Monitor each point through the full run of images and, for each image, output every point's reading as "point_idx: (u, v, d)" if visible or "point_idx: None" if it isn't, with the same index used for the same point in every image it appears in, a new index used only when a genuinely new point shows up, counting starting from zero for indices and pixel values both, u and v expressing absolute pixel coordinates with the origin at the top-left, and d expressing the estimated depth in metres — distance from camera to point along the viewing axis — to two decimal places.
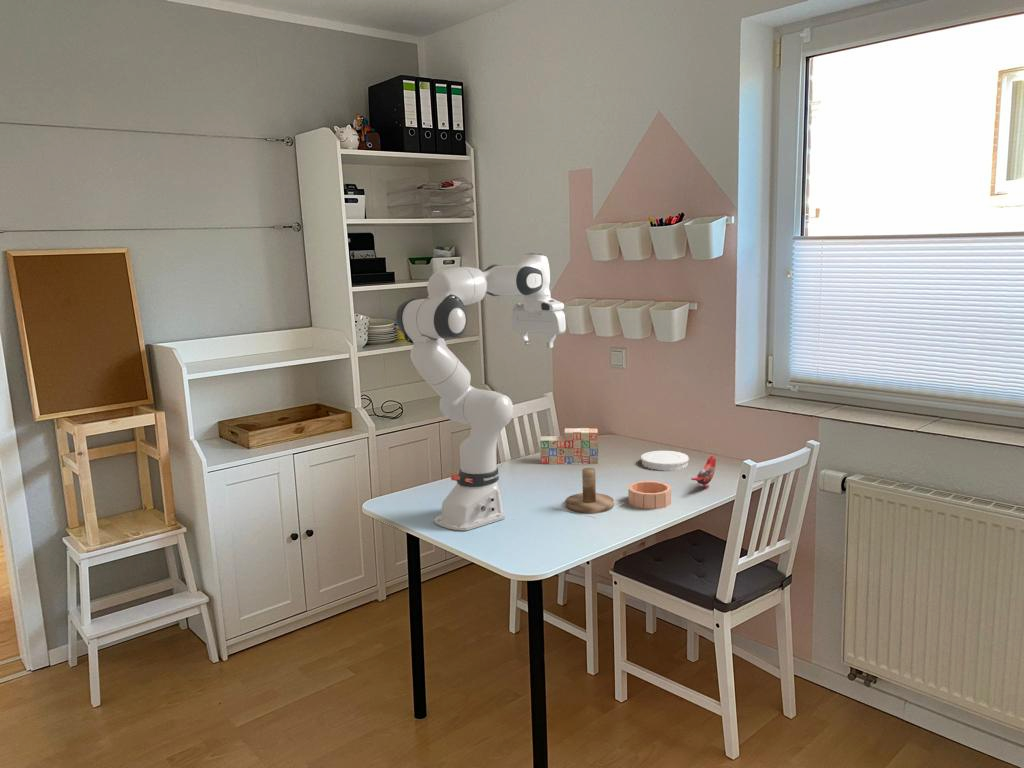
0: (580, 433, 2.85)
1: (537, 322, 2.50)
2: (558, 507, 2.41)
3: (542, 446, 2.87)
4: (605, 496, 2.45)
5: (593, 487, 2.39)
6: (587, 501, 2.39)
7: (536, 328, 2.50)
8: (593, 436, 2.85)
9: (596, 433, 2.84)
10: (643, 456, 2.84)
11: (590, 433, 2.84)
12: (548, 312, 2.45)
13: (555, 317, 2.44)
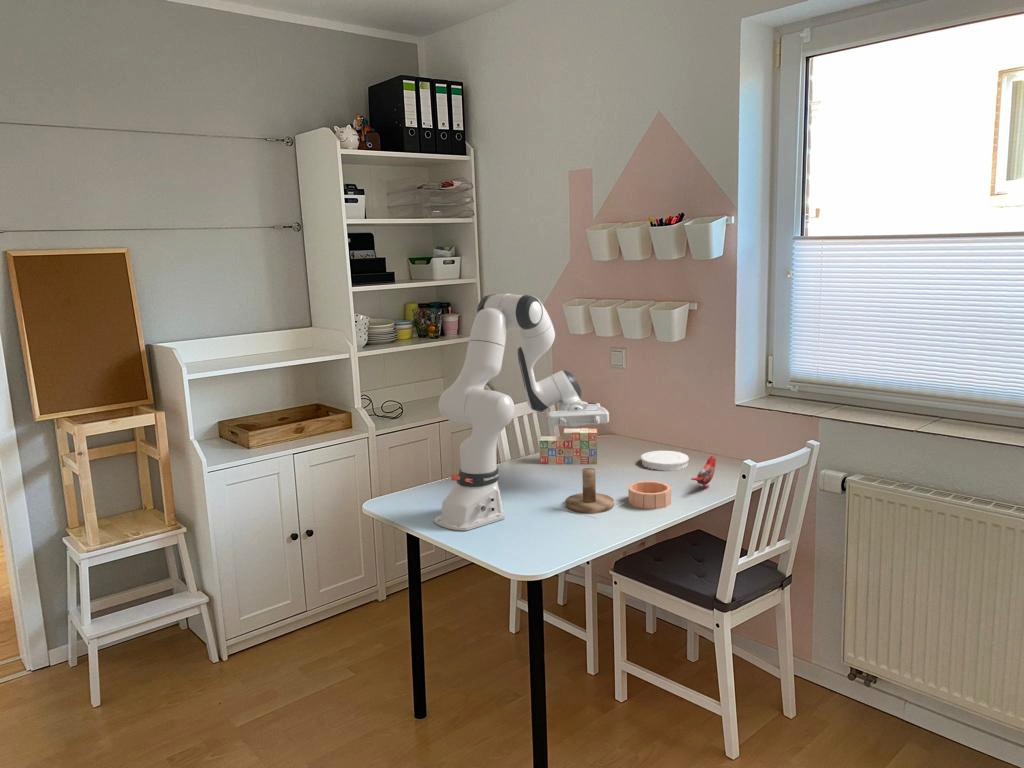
0: (579, 433, 2.85)
1: (580, 412, 2.57)
2: (558, 507, 2.41)
3: (541, 446, 2.87)
4: (605, 496, 2.45)
5: (593, 487, 2.39)
6: (587, 501, 2.39)
7: (580, 413, 2.55)
8: (592, 436, 2.84)
9: (595, 433, 2.84)
10: (643, 456, 2.84)
11: (589, 433, 2.84)
12: (595, 406, 2.60)
13: None
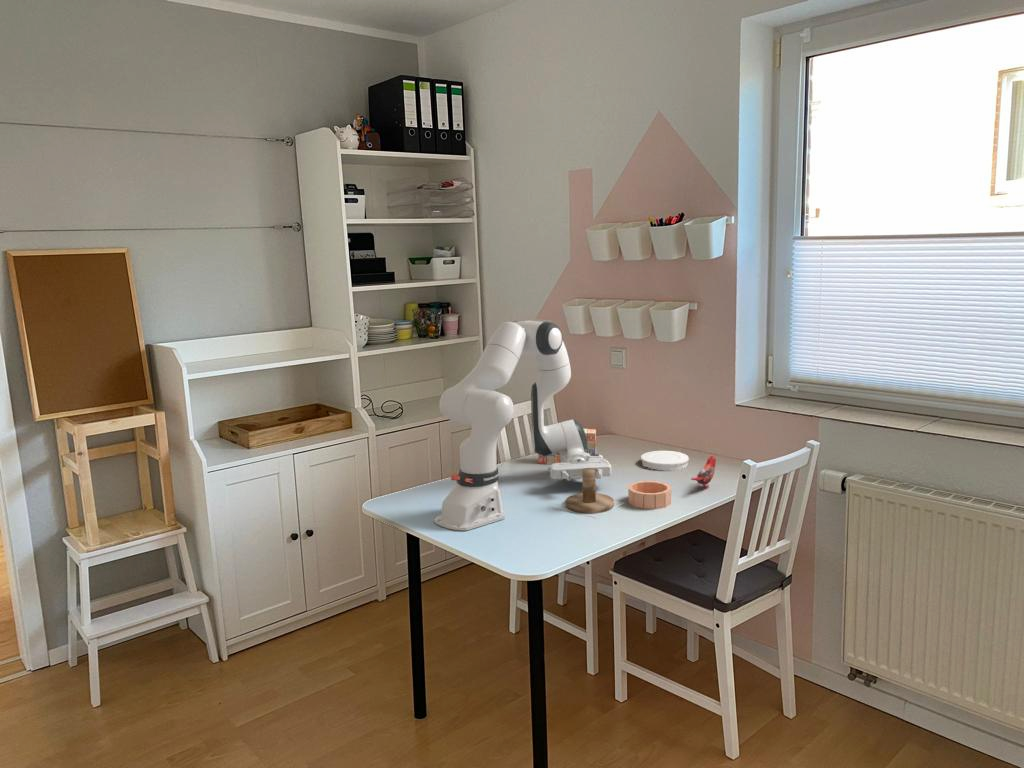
0: None
1: (583, 464, 2.56)
2: (558, 507, 2.41)
3: None
4: (605, 496, 2.45)
5: (593, 487, 2.39)
6: (587, 501, 2.39)
7: (582, 466, 2.54)
8: (590, 437, 2.84)
9: (593, 434, 2.83)
10: (643, 456, 2.84)
11: (587, 434, 2.84)
12: (597, 458, 2.60)
13: (605, 460, 2.59)
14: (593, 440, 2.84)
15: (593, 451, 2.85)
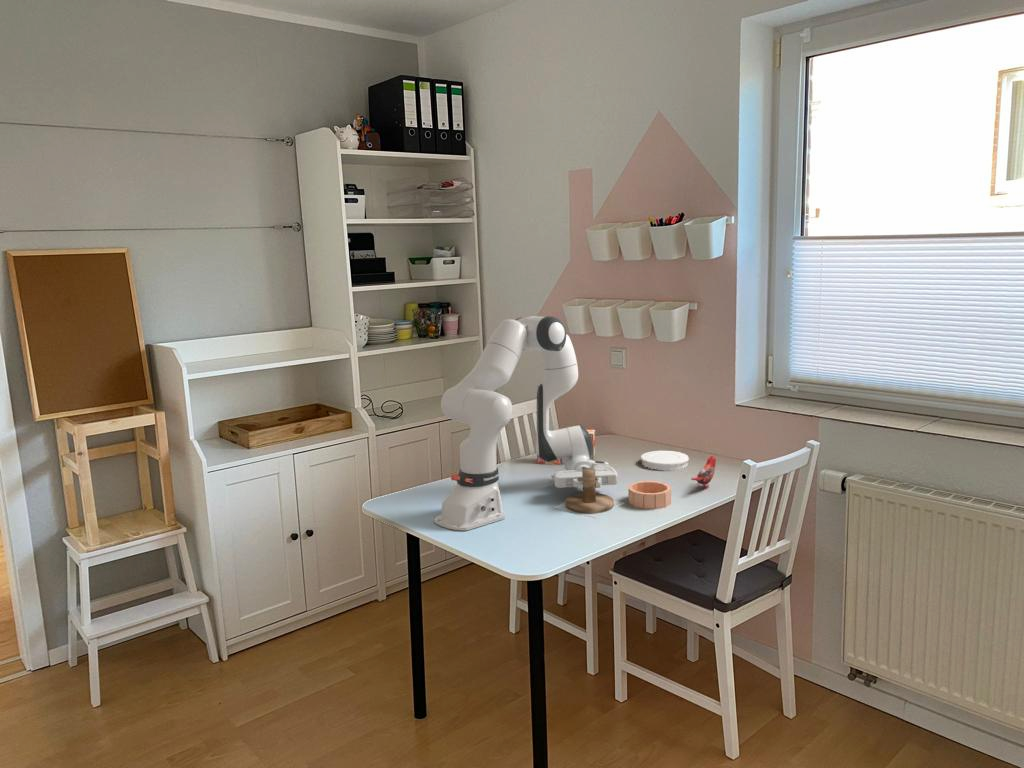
0: None
1: None
2: (558, 507, 2.41)
3: None
4: (605, 496, 2.45)
5: (593, 487, 2.39)
6: (587, 501, 2.39)
7: None
8: None
9: (592, 434, 2.83)
10: (643, 456, 2.84)
11: None
12: (603, 465, 2.51)
13: (611, 467, 2.50)
14: None
15: None
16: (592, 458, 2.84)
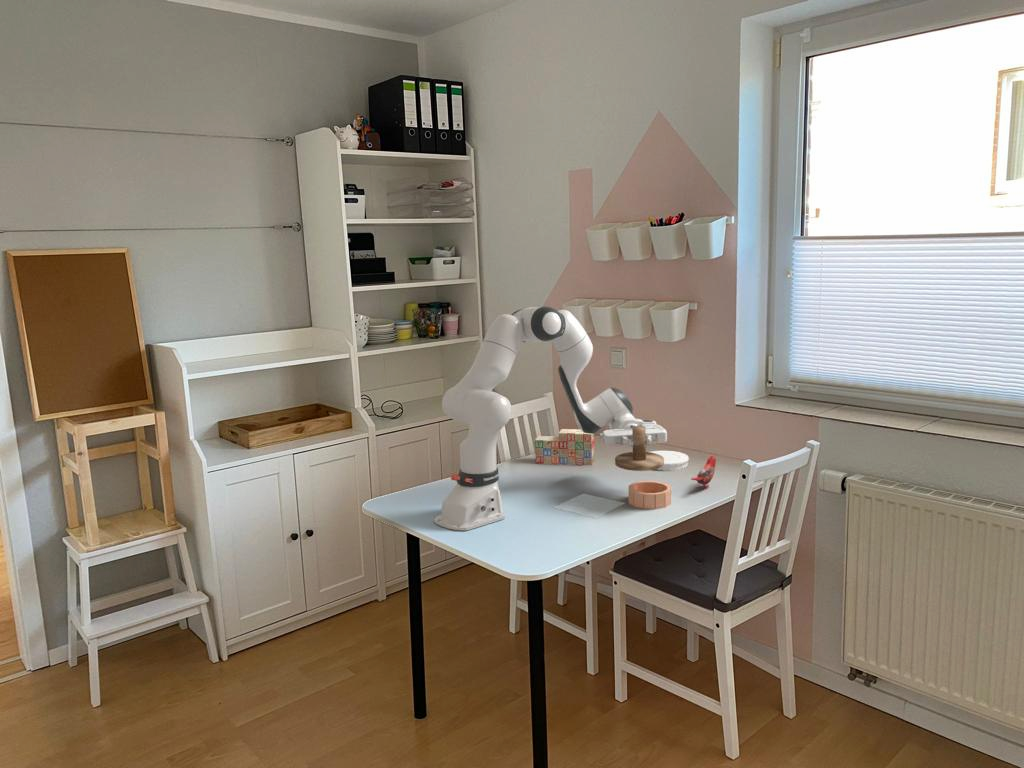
0: (574, 434, 2.84)
1: None
2: (558, 507, 2.41)
3: (536, 445, 2.88)
4: (654, 454, 2.44)
5: (643, 445, 2.38)
6: (637, 459, 2.39)
7: None
8: (587, 438, 2.83)
9: (590, 435, 2.82)
10: None
11: (584, 435, 2.83)
12: (651, 424, 2.50)
13: (659, 425, 2.49)
14: (589, 441, 2.83)
15: (589, 452, 2.83)
16: (590, 459, 2.84)
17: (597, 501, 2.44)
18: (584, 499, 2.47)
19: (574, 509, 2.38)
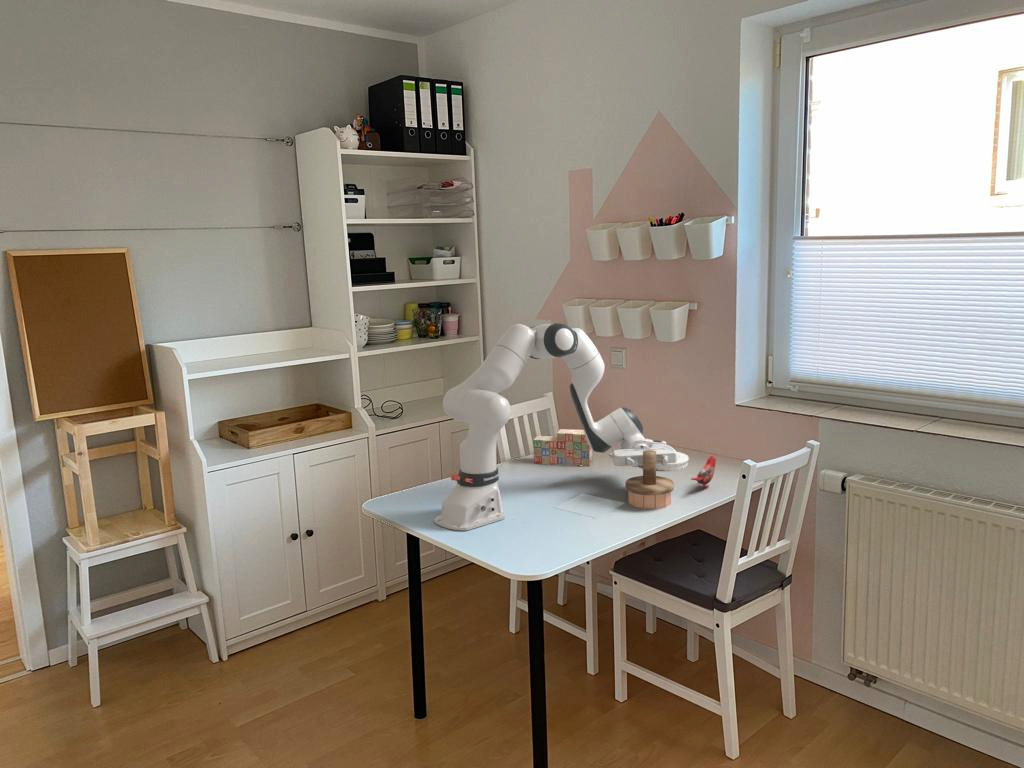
0: (572, 434, 2.83)
1: None
2: (558, 507, 2.41)
3: (535, 445, 2.88)
4: (664, 478, 2.45)
5: (654, 469, 2.39)
6: (648, 483, 2.40)
7: None
8: (585, 438, 2.82)
9: None
10: None
11: (582, 435, 2.82)
12: (661, 444, 2.51)
13: (669, 446, 2.50)
14: None
15: (587, 453, 2.83)
16: (588, 459, 2.83)
17: (597, 501, 2.44)
18: (584, 499, 2.47)
19: (574, 509, 2.38)
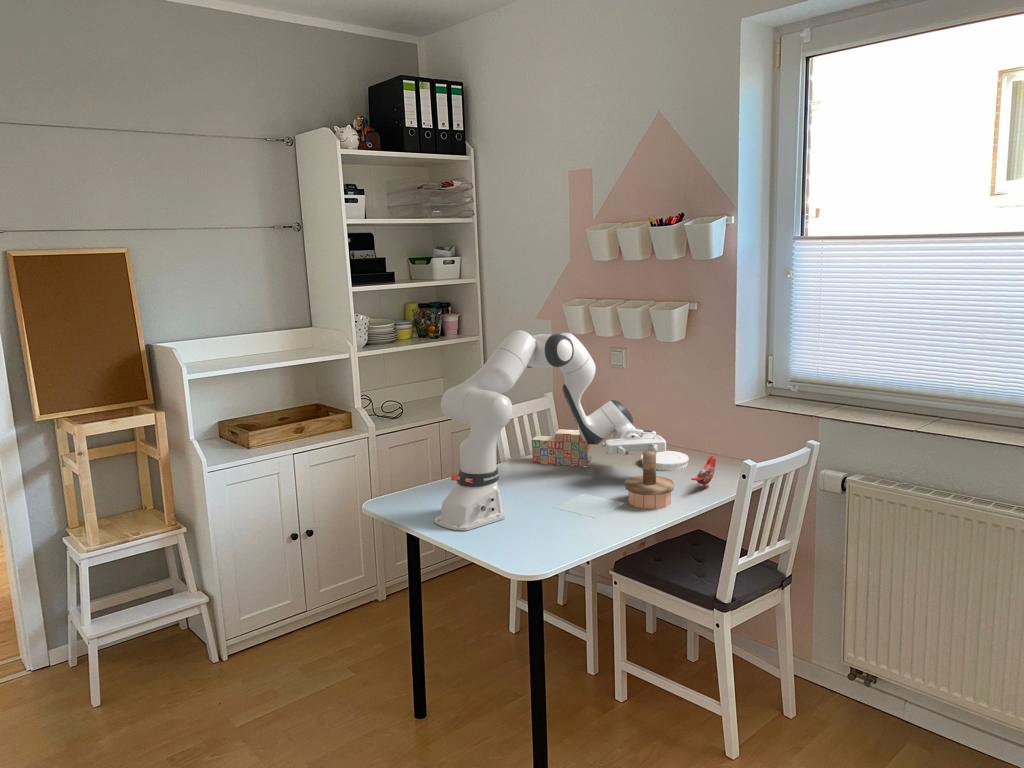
0: (570, 435, 2.83)
1: (638, 440, 2.60)
2: (558, 507, 2.41)
3: (533, 445, 2.89)
4: (664, 478, 2.45)
5: (654, 469, 2.39)
6: (648, 483, 2.40)
7: (638, 441, 2.58)
8: (582, 439, 2.82)
9: None
10: None
11: (579, 435, 2.82)
12: (651, 434, 2.64)
13: None
14: (585, 442, 2.81)
15: (585, 453, 2.82)
16: (586, 460, 2.83)
17: (597, 501, 2.44)
18: (584, 499, 2.47)
19: (574, 509, 2.38)
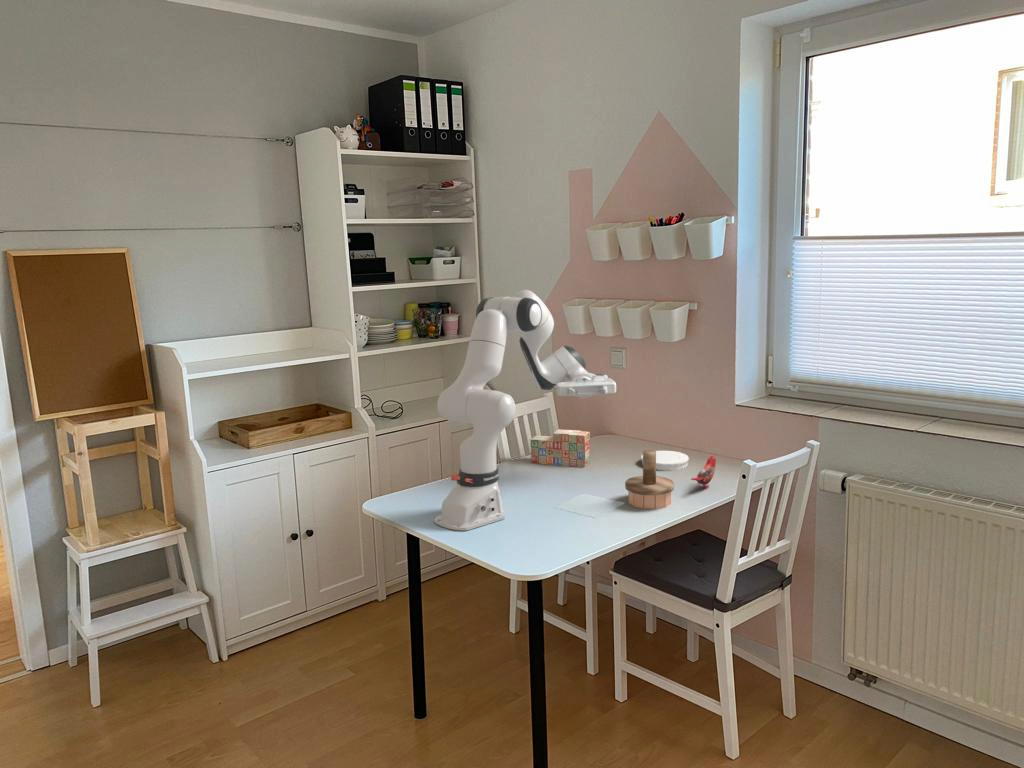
0: (568, 435, 2.83)
1: (588, 382, 2.64)
2: (558, 507, 2.41)
3: (532, 445, 2.89)
4: (664, 478, 2.45)
5: (654, 469, 2.39)
6: (648, 483, 2.40)
7: (588, 383, 2.62)
8: (580, 439, 2.81)
9: (583, 436, 2.80)
10: None
11: (577, 436, 2.81)
12: (602, 377, 2.67)
13: None
14: (583, 442, 2.81)
15: (583, 453, 2.82)
16: (583, 460, 2.82)
17: (597, 501, 2.44)
18: (584, 499, 2.47)
19: (574, 509, 2.38)
